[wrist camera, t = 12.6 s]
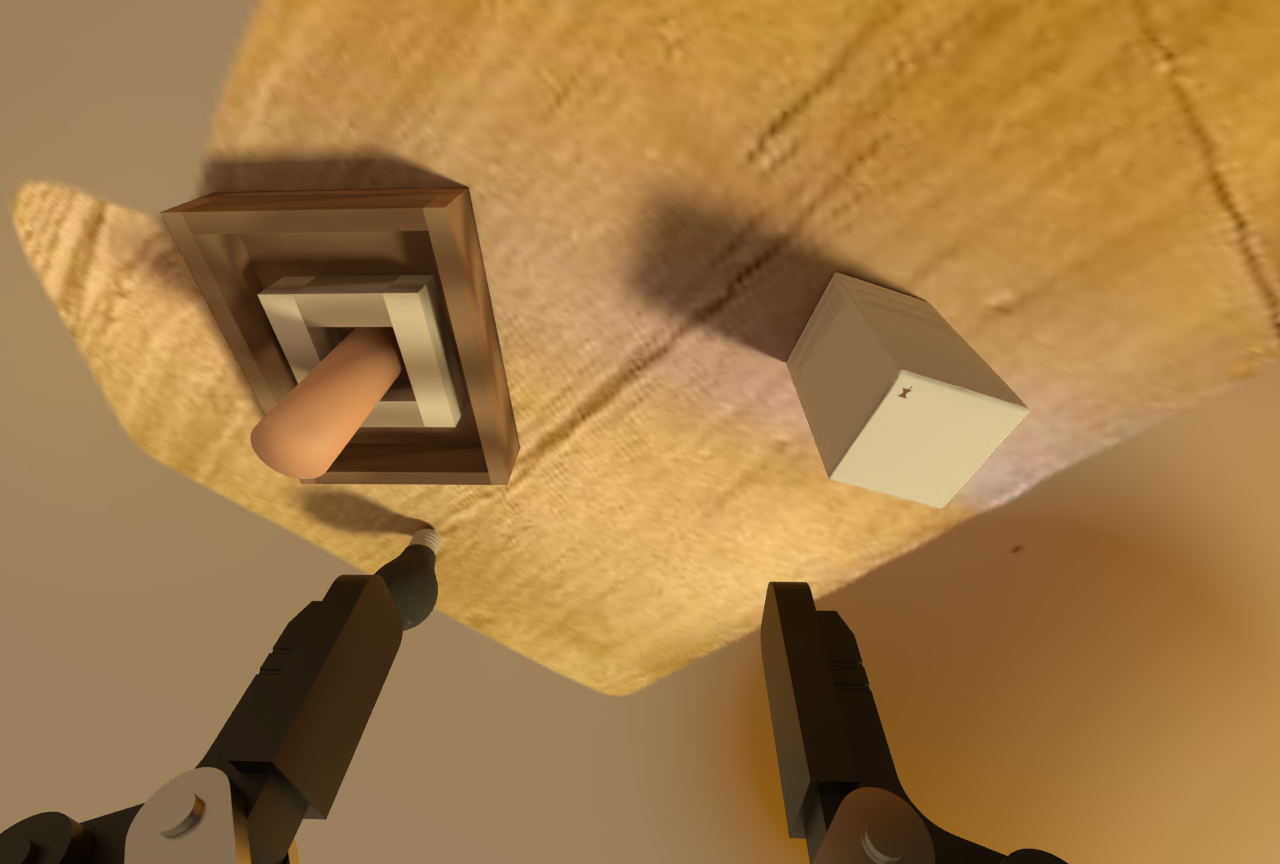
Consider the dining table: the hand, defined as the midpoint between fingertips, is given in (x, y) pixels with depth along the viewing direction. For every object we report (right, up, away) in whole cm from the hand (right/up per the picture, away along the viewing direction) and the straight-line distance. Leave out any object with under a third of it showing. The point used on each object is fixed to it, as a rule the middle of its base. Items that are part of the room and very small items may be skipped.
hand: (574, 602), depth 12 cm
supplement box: (+16, +10, +27) cm, 33 cm away
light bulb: (-18, -6, +40) cm, 45 cm away
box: (-17, +10, +28) cm, 34 cm away
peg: (-17, +10, +27) cm, 33 cm away
